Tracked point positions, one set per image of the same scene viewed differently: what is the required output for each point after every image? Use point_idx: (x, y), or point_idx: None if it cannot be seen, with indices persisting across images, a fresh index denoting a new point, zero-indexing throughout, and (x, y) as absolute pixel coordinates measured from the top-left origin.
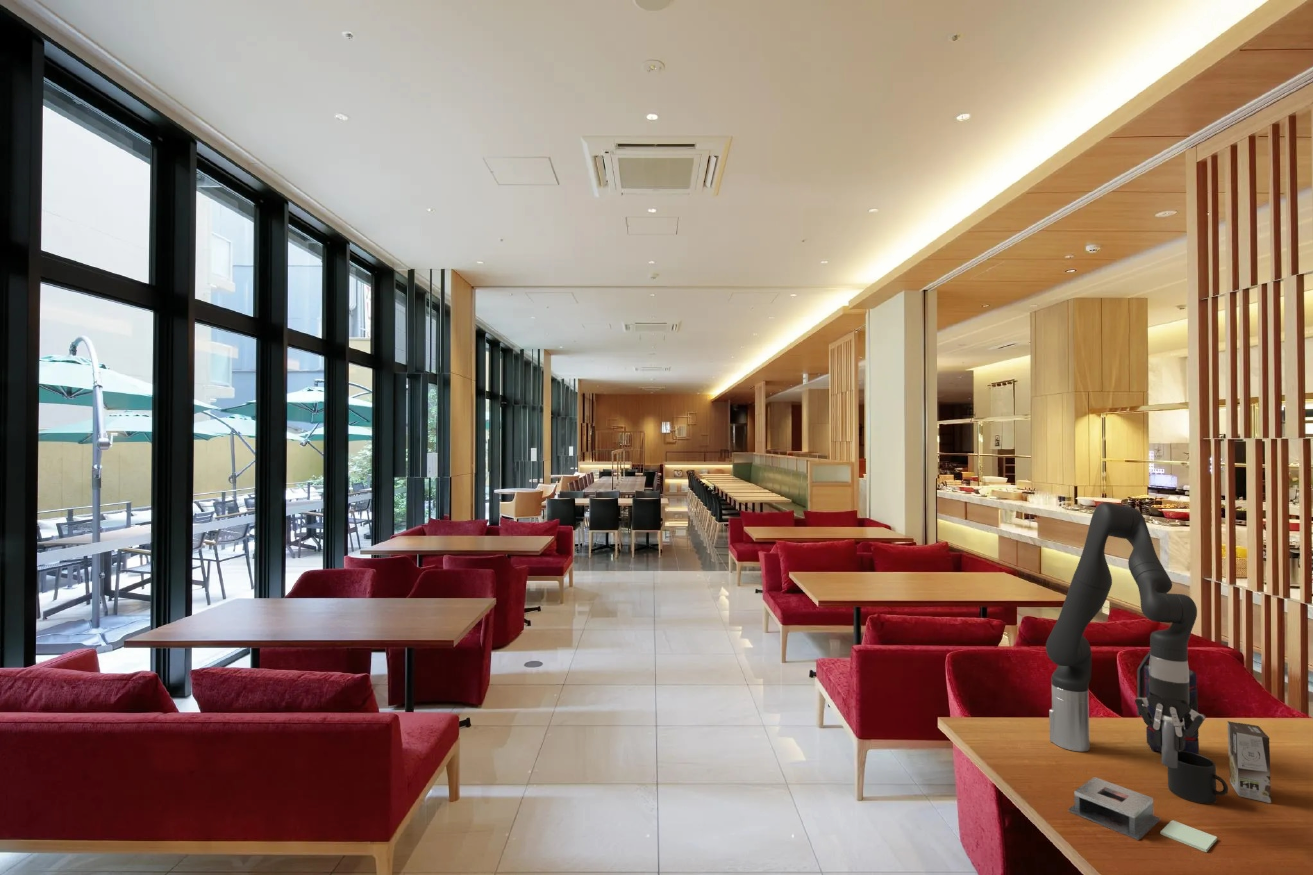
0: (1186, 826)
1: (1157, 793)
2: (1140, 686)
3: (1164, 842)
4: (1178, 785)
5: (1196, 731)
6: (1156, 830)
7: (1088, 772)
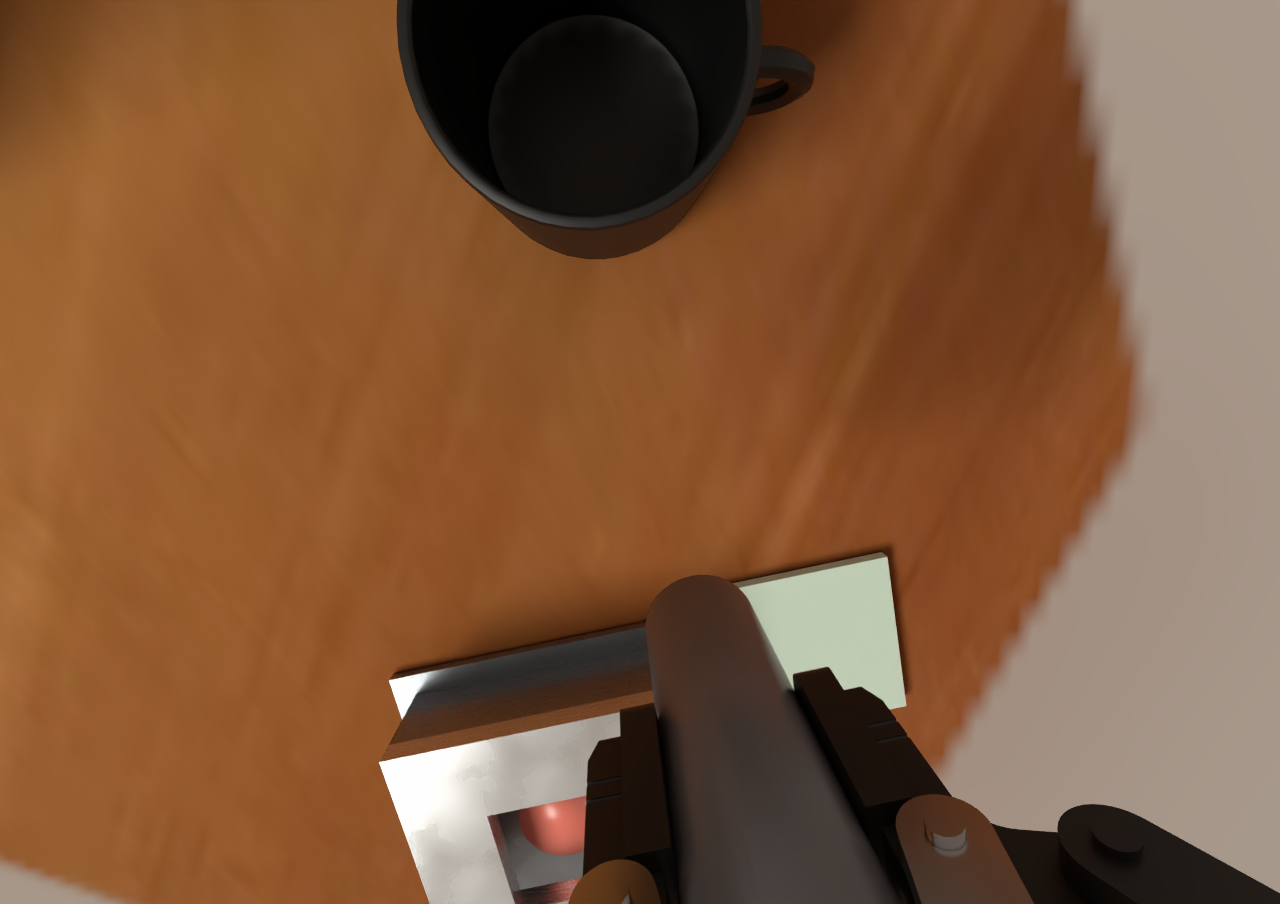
0: (777, 589)
1: (510, 333)
2: None
3: None
4: (578, 252)
5: (1224, 879)
6: None
7: (196, 454)
